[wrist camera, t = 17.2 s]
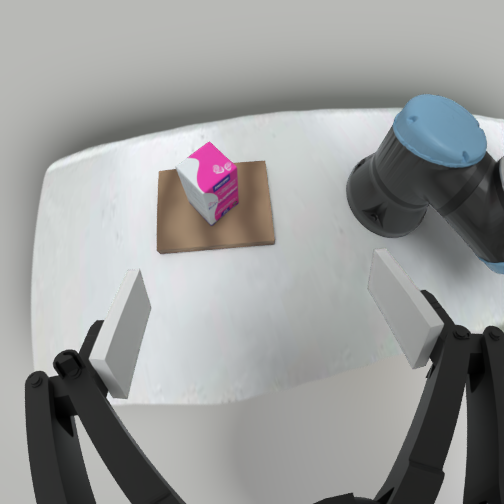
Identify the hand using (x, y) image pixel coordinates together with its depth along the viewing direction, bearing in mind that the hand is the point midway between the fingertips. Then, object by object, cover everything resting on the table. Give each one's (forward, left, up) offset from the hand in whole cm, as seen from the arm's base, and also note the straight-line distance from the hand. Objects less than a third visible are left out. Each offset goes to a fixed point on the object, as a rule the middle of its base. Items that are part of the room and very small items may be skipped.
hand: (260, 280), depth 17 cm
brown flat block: (+5, -18, -30) cm, 35 cm away
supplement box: (+5, -18, -28) cm, 33 cm away
